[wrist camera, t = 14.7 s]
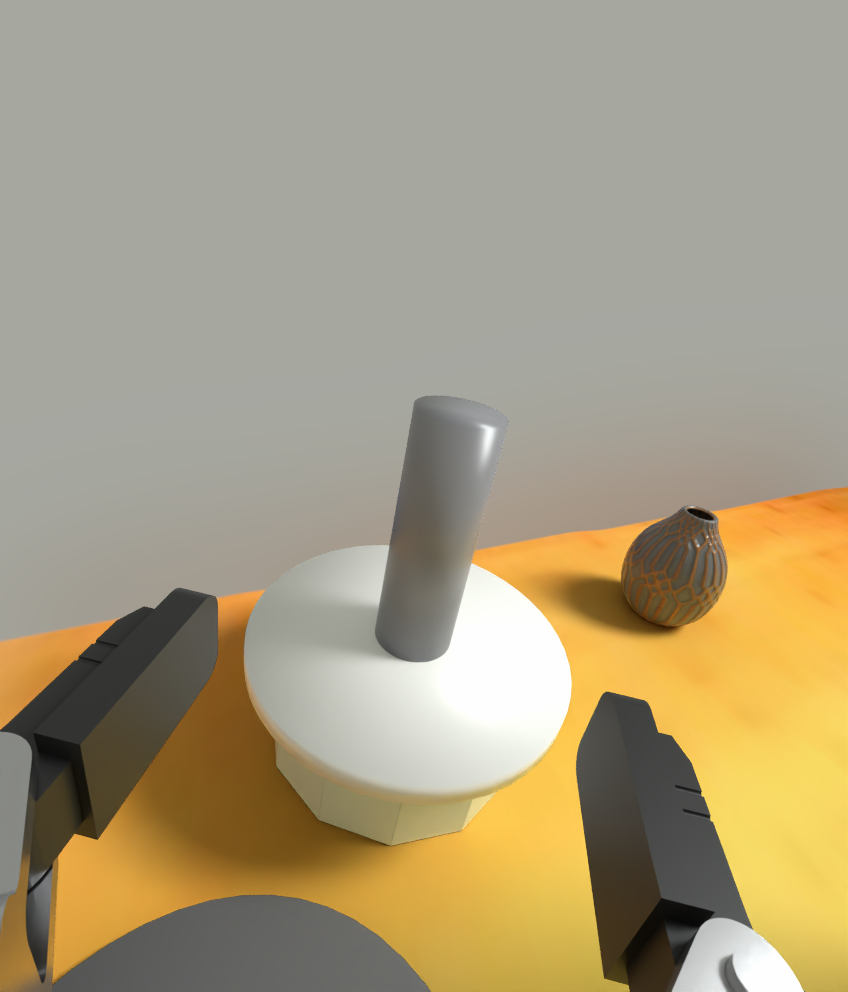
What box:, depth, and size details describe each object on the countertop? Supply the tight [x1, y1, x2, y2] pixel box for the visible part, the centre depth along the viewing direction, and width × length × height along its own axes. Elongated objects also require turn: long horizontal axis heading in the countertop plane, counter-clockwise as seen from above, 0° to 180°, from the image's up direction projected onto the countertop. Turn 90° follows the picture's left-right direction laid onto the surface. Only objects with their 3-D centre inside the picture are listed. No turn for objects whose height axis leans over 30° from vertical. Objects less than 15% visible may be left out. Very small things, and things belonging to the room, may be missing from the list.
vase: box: [621, 505, 728, 627], centre depth 38 cm, size 7×7×9 cm
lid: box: [244, 396, 571, 805], centre depth 22 cm, size 15×15×12 cm
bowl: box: [275, 740, 497, 846], centre depth 26 cm, size 12×12×5 cm
